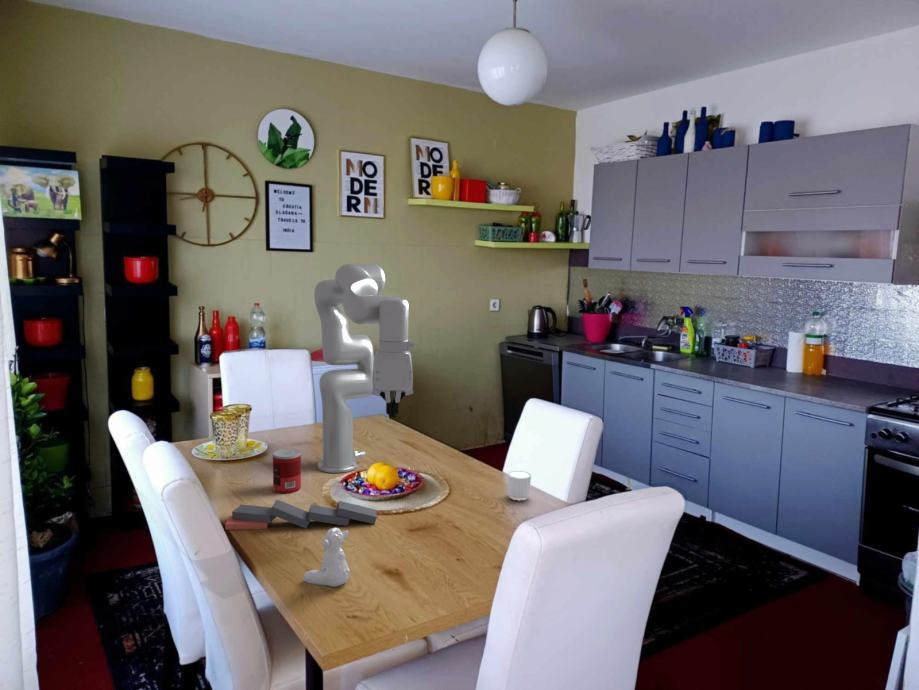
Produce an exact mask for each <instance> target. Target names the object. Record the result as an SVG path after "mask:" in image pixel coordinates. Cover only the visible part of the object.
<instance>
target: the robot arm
mask: <svg viewBox="0 0 919 690" xmlns="http://www.w3.org/2000/svg"><path fill="white" fill-rule="evenodd" d="M335 271H336V272H335V275H334V279H325V280H321V281H319V282H318V283H316V286H315V288H314V291H313V292H314V296H313V297H314V304H315V307H316V311H317V314H318V317H319V320H320V326H321V327H320V328H321V342H322V344H321V346H322V356H323V361H324V362H325V363H326V364H327V365H328V366H329V365H330V366H351V365H355V366H357V368H349V369H348V368H345V369H341V368H340V369H332V370H331V369H330V370H328V371H325V372H324V373H323V374H321V376H320V378H319V383H318V384H319V390H320V398H321V405H322V407H321V408H322V409H321V410H322V459H321V460H319V461H318V462H317V469H318V470H320V471H321V472H325V473H329V474H330V473H331V474H332V473H333V474H335V473H336V474H340V473H347V472H350V471H351V472H352V471H354V470H355V469H357V468H358V462H357V460H358V459H359V458H365V457H366V452H365V451H364V450H362V451H358V450H353V449H354V448H353V447H354V444H353V442H354V441H353V440H354V439H353V438H354V437H353V436H354V434H353V433H354V420H353V419H354V416H353V415H354V414H353V410H352V409H351V407H350V406H349V405H348V404H347V402H346V400H354V399H363V398H364V399H365V398H369V397H371V396H372V395H373V396H377V397H381V398H382V399H383V401H385V414H386V415H388V418H389V419H392V418H393V419H396V418H397V417H396V416H397V415H398V414H399V403H400V401H401V400H402V399H403V398H404V397H405V396H410V395H413V394H414V389H413V386H414V383H413V382H414V380H413V379H414V376H413V375H414V374H413V363H412V355H411V354H412V353H411V351H410V349H411V348H414V345H415V344H414V342H411V341H409V312H410V310H409V309H410V308H409V302H408V301H407V299H405V298H400V297H398V296H396V295H390V294H389V295H387V294H386V295H381V292H382V291H383V290H384V288H385V285H386V275H385V271H384V270H383V267H381V266H380V265H378V264H376V263H345V264H343V265H341V266H339V268H338V269H336V270H335ZM341 308H343V309H344V311H343V310H342V309H341ZM348 318H349V319H348ZM349 320H350V321H352V322H353V323H354V324H358V325H378V349H377V350H376V351H375V352H374V346H373V342H372V340H371V338H370V337H368V335H365V334H350V328H349V327H350V326H349V325H350V324H349ZM390 392H394V396H393V398H392V399H391V393H390Z"/></svg>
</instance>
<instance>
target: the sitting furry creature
mask: <svg viewBox="0 0 919 690" xmlns="http://www.w3.org/2000/svg"><path fill="white" fill-rule="evenodd" d="M348 536H349V531H348V530H343V531H341V529H340V528H339V527H332V528H330V529H329V530H327V531H326V534H325V535H324V536H323V538H322V542H321V545H322V546H323V547H324V551H323V555H322V562H321V566H320V570H318V569H310V570H308V571H305V572H304V575H303V580H304V581H305V582H306V583H308V584H310V585H311V584H312V585H318V586H324V587H325V586H326V587H331V588H332V587H333V588H335V587H340V586H343V585H344V584H346V582H347V581H348V580H349V578H350V574H351V569H350V568H349V566H348V562H347V560H346V554H345V552H344V550H343V549H342V545H343V544H344V542H345V538H347V537H348Z"/></svg>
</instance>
